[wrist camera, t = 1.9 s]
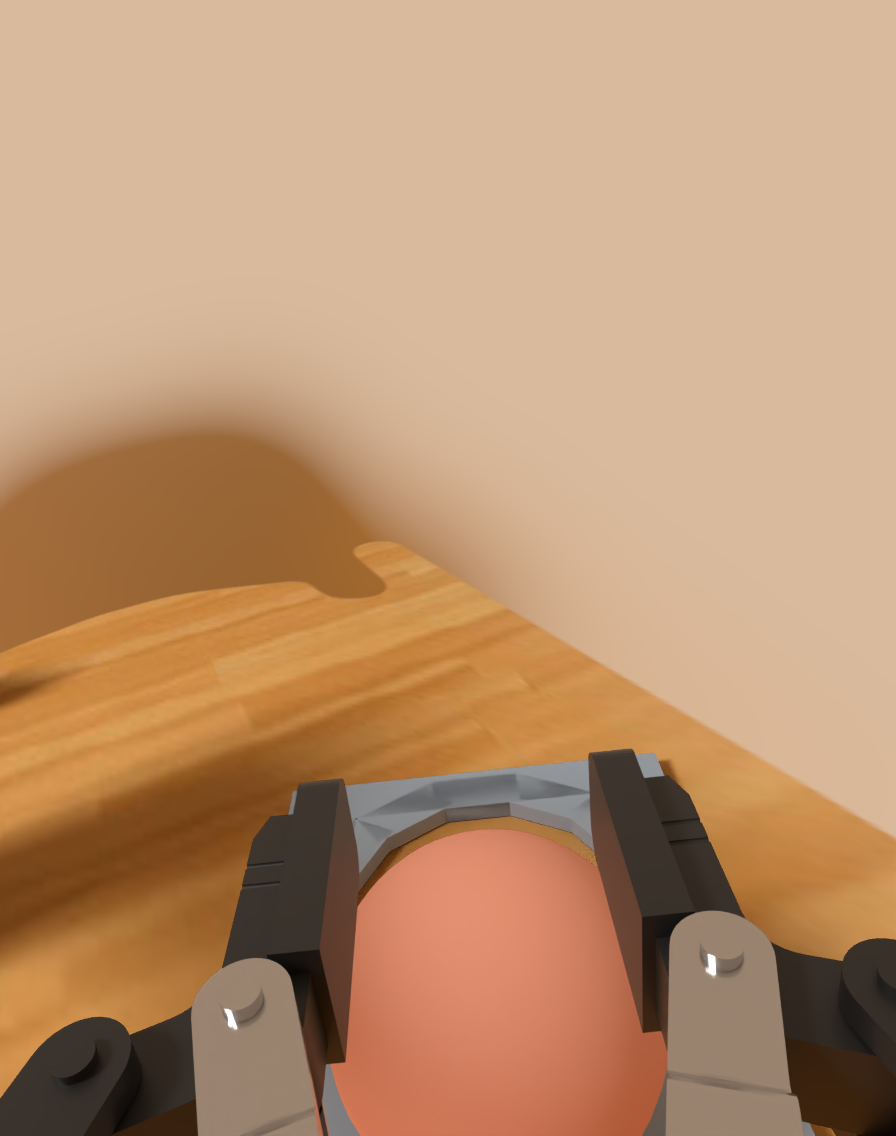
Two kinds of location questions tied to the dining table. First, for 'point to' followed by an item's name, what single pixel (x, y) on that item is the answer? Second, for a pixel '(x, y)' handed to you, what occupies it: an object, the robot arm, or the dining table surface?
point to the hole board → (429, 802)
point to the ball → (494, 999)
